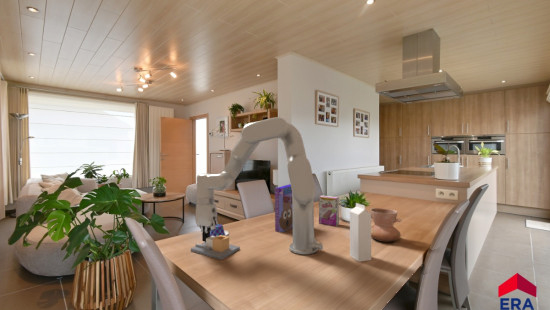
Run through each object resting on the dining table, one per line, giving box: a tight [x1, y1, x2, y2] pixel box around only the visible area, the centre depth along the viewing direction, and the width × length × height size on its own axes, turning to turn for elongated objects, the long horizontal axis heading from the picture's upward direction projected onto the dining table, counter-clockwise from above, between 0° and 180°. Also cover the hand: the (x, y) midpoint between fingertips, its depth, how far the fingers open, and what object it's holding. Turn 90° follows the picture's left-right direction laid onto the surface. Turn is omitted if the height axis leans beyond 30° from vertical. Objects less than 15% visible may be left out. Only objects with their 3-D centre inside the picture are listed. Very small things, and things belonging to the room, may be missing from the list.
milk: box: [349, 202, 372, 263], centre depth 101 cm, size 6×6×22 cm
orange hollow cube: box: [213, 235, 230, 252], centre depth 109 cm, size 5×5×5 cm
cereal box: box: [274, 183, 293, 234], centre depth 142 cm, size 17×5×24 cm, turn 148°
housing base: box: [190, 241, 241, 260], centre depth 111 cm, size 18×12×5 cm, turn 60°
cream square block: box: [206, 236, 217, 249], centre depth 112 cm, size 4×4×5 cm
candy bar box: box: [318, 195, 340, 227], centre depth 148 cm, size 11×5×16 cm, turn 58°
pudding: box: [210, 223, 230, 237], centre depth 132 cm, size 12×12×5 cm
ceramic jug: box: [370, 207, 403, 243], centre depth 123 cm, size 18×14×14 cm
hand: (206, 240), depth 114 cm, fingers closed
